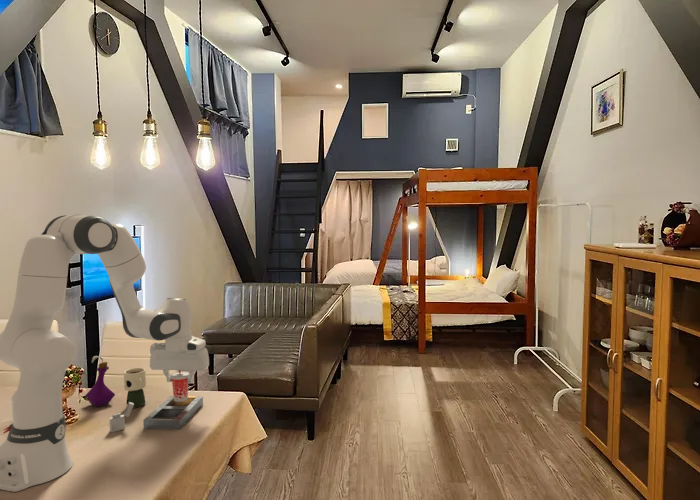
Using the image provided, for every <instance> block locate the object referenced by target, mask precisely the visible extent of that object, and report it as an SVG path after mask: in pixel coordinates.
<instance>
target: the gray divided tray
mask: <svg viewBox="0 0 700 500" xmlns="http://www.w3.org/2000/svg"><path fill="white" fill-rule="evenodd" d="M203 405H204V397H203V396H199V395H198V396H197V395H196V396H193V395H189V396H188V399H187V400H185V401H182V402H176V401H174V395H169V397H168V398H167V399H165V400H164V401H163V402H162V403H161V404H159V406H158V407H156V408H155V409H154V410H152V411H151V412H150V413H149V414H148V415H147V416H146V417H145V418H144V419H143V420H142V423H143V425H142V426H143V429H144V430H181V429H182V428H183V427H184V426H185V425H186V424H187V423H188V422H189V421H190V419H191V418H192V417H193V416H194V415H195V414H196V413H197V412H198V410H200V409H201V407H203Z"/></svg>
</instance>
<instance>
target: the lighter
mask: <svg viewBox="0 0 700 500" xmlns="http://www.w3.org/2000/svg"><path fill="white" fill-rule="evenodd" d="M133 406H134V404H133V403H131V402H129V403H128V404H127V406H126V407H125V409H124V413H123V414H121V412H117V413H114V414H113V415H112V416H111V417H109V431H110V433H111V434H112V433H115V432H118V431H121V430H125V429H126V421H125V420H126V419H125V418H126V417H127V418H129V417H130V414H131V412H132V410H133V409H134V408H133Z"/></svg>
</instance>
